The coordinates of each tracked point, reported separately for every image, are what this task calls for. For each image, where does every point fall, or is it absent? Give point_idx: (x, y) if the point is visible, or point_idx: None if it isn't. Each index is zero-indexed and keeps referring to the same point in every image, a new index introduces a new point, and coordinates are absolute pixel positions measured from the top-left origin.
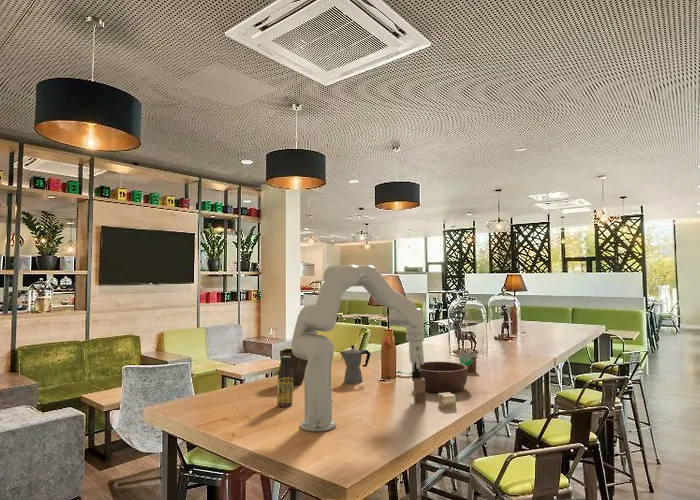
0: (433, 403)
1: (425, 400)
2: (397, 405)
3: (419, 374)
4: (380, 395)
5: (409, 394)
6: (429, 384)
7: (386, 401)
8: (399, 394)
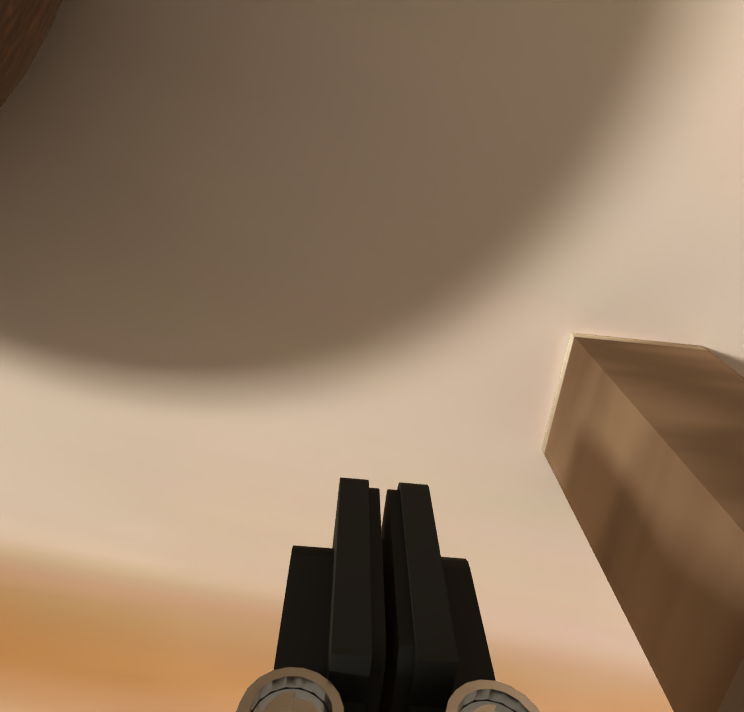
0: (659, 215)
1: (735, 373)
2: (587, 626)
3: (440, 605)
4: (148, 703)
5: (115, 409)
6: (2, 93)
7: None
8: (110, 524)
